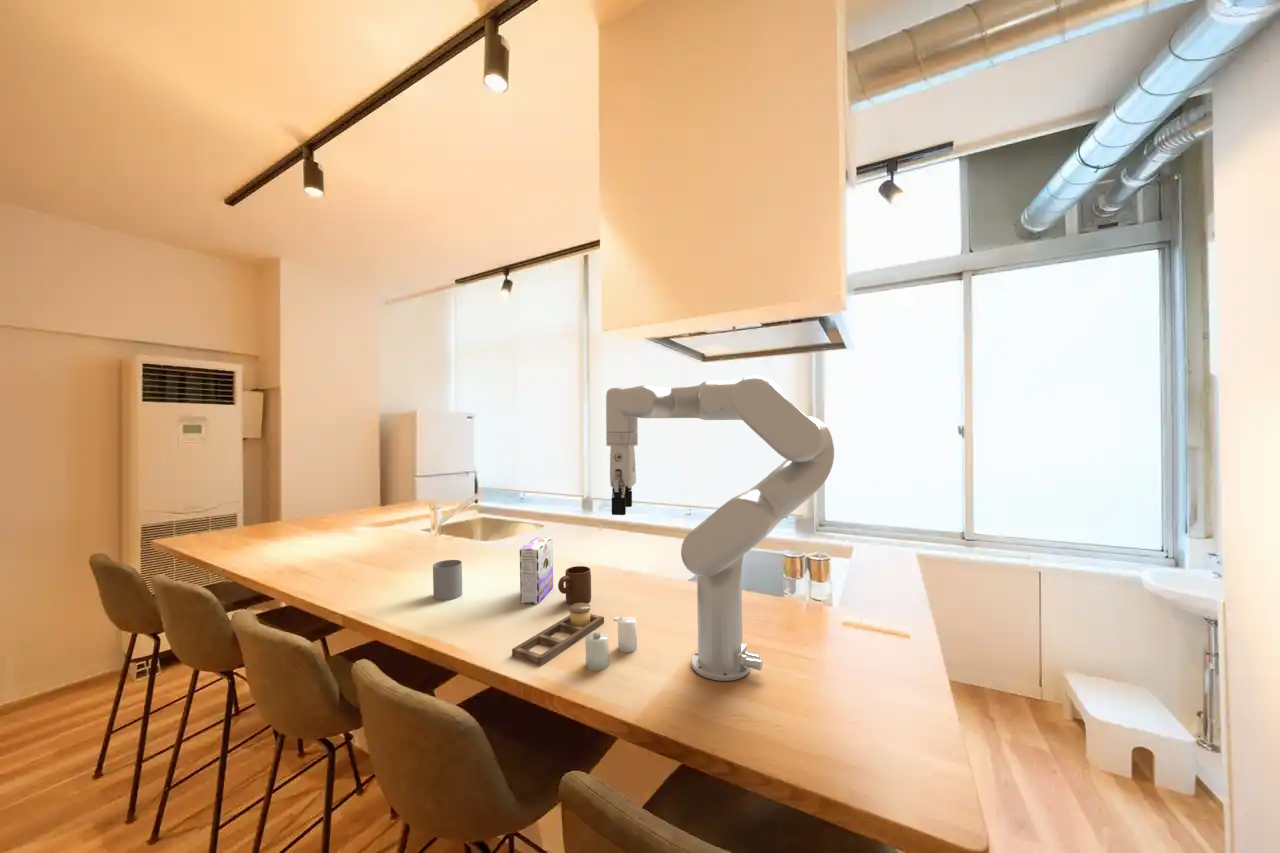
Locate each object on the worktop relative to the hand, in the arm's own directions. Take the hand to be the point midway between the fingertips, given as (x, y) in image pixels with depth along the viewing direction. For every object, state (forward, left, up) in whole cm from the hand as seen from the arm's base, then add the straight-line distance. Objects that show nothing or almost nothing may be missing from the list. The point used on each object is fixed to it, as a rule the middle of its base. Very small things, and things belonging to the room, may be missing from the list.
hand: (622, 510), depth 112 cm
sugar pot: (0, +11, -32) cm, 34 cm away
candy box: (+40, -14, -32) cm, 53 cm away
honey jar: (+15, -2, -32) cm, 35 cm away
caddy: (+15, +5, -32) cm, 36 cm away
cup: (+65, -1, -32) cm, 72 cm away
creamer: (-2, +2, -32) cm, 32 cm away
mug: (+26, -14, -32) cm, 43 cm away
